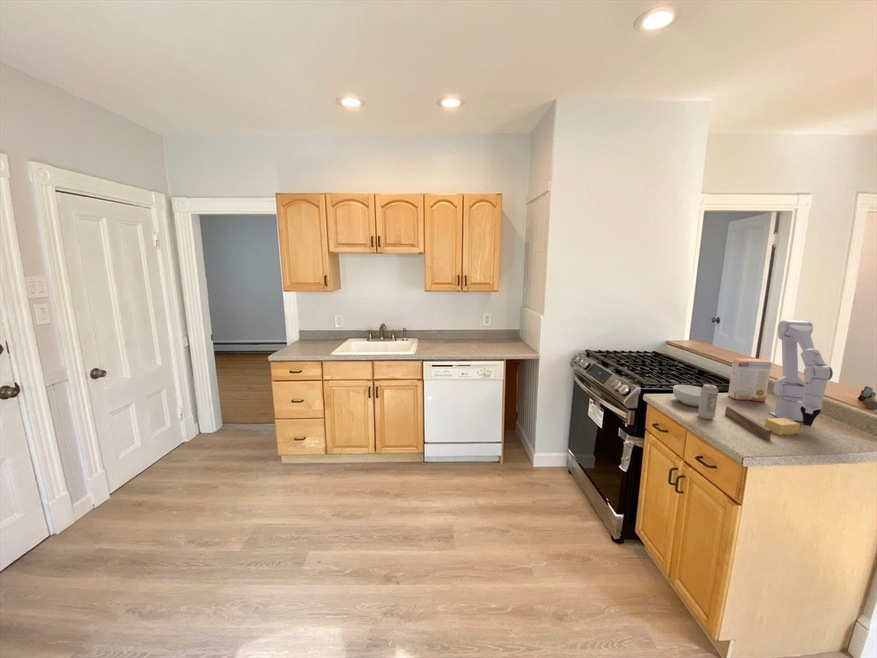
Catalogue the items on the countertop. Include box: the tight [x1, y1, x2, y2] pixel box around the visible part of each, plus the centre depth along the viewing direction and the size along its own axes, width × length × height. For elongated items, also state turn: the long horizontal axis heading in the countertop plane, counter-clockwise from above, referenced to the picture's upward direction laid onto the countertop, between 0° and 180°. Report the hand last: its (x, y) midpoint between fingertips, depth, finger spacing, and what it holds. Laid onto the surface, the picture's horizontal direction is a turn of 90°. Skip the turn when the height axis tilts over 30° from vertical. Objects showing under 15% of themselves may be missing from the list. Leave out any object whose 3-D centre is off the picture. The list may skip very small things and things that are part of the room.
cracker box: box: [727, 357, 772, 402], centre depth 182 cm, size 14×6×21 cm, turn 77°
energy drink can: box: [697, 383, 719, 420], centre depth 160 cm, size 6×6×15 cm
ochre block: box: [764, 417, 801, 436], centre depth 149 cm, size 9×6×4 cm, turn 98°
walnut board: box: [724, 405, 773, 440], centre depth 153 cm, size 2×24×4 cm, turn 173°
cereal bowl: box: [672, 384, 702, 407], centre depth 177 cm, size 17×17×7 cm
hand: (807, 425), depth 147 cm, fingers closed
